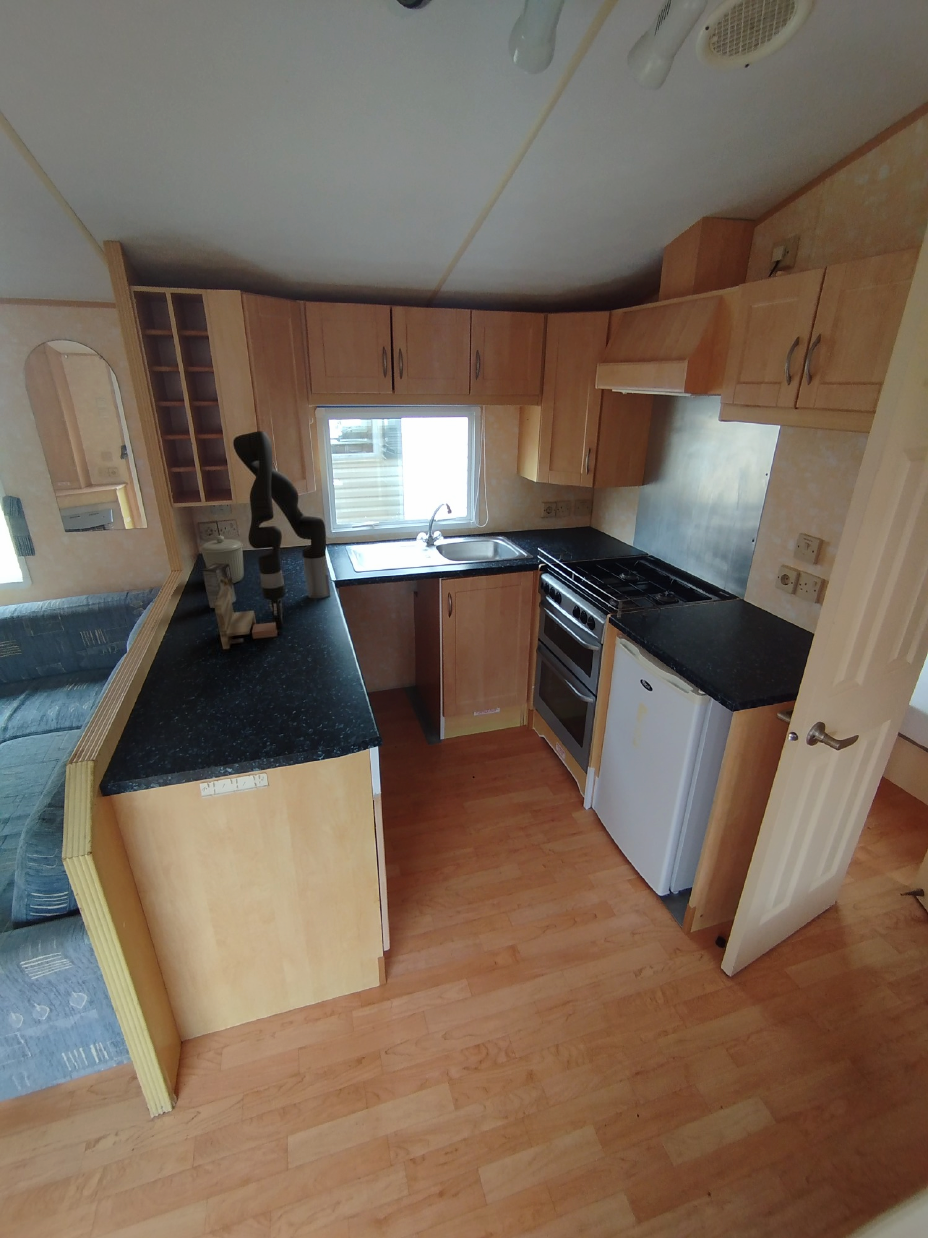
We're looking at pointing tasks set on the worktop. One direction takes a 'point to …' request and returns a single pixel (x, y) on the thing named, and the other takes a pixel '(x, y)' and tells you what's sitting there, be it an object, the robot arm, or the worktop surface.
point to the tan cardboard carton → (264, 630)
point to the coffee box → (218, 581)
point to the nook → (231, 619)
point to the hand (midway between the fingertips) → (280, 629)
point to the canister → (225, 555)
